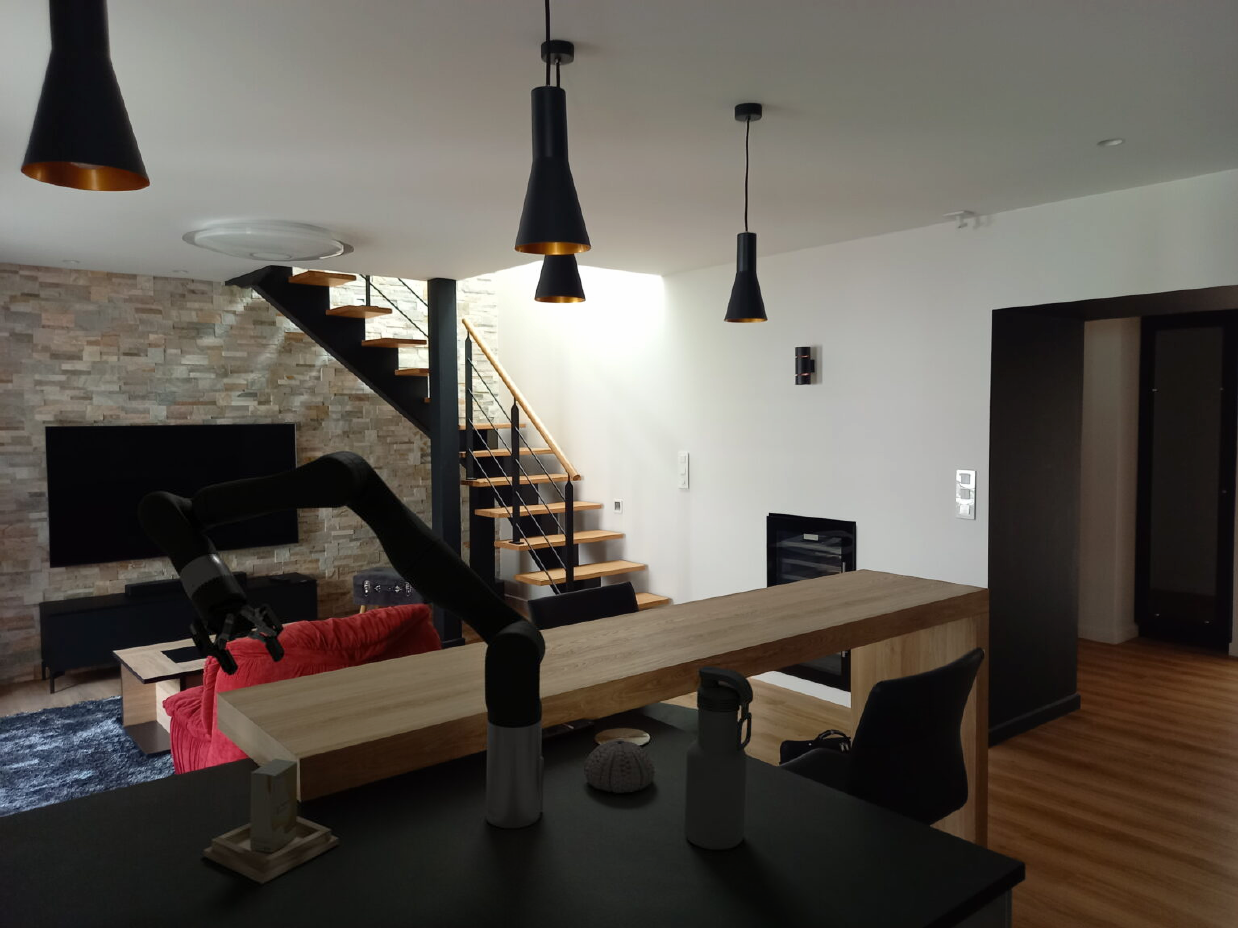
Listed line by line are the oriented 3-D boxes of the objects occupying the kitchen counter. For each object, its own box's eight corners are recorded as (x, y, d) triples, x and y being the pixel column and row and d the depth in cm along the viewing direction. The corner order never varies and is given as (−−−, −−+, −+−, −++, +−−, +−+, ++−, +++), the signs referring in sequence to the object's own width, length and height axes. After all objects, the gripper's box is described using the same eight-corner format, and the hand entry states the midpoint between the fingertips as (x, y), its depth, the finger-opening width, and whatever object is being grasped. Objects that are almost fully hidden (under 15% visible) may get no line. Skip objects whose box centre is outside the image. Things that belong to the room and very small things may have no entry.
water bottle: (753, 831, 147) (759, 668, 145) (735, 858, 138) (742, 684, 136) (696, 818, 151) (701, 659, 149) (675, 843, 142) (680, 674, 141)
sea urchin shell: (572, 776, 168) (573, 735, 167) (634, 764, 174) (635, 724, 173) (602, 804, 156) (603, 760, 155) (668, 791, 162) (669, 748, 162)
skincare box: (273, 854, 134) (273, 776, 133) (248, 850, 135) (248, 772, 134) (298, 834, 140) (298, 760, 139) (274, 830, 141) (274, 757, 140)
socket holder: (281, 820, 147) (281, 806, 147) (338, 843, 139) (338, 828, 139) (203, 855, 135) (203, 840, 135) (262, 883, 128) (262, 867, 127)
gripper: (181, 581, 140) (228, 662, 134) (259, 567, 152) (304, 641, 146) (163, 609, 143) (207, 690, 137) (240, 594, 155) (284, 667, 150)
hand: (257, 665), depth 142 cm, fingers open, 8 cm apart
